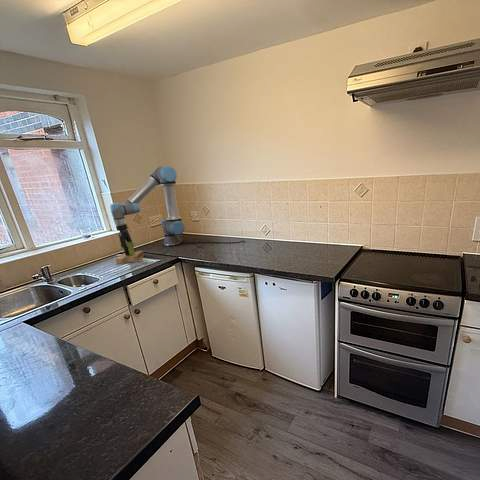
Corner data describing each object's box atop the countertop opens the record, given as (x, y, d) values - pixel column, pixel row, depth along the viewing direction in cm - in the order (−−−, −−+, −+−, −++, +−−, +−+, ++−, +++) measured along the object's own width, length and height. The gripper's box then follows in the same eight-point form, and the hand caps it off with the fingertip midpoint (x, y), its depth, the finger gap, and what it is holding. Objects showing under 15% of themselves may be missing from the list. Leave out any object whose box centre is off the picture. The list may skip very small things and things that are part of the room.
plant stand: (144, 255, 241) (143, 250, 239) (138, 261, 226) (137, 256, 224) (124, 258, 239) (123, 253, 238) (117, 264, 225) (115, 259, 223)
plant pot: (126, 253, 236) (123, 242, 232) (138, 251, 236) (135, 241, 233) (121, 257, 227) (118, 246, 224) (134, 255, 227) (131, 244, 224)
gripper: (120, 222, 232) (129, 250, 240) (110, 228, 212) (119, 258, 220) (130, 221, 233) (138, 248, 241) (120, 226, 213) (130, 256, 221)
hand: (129, 253), depth 231 cm, fingers open, 9 cm apart
